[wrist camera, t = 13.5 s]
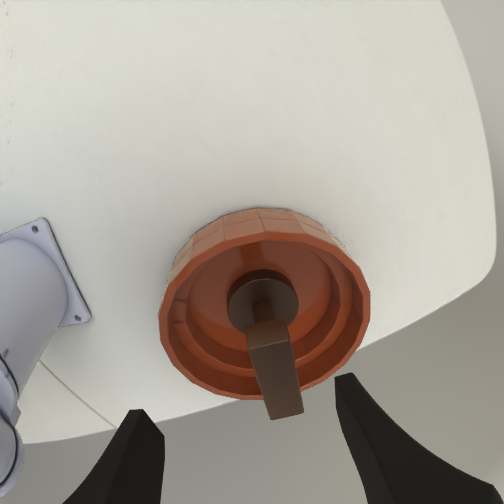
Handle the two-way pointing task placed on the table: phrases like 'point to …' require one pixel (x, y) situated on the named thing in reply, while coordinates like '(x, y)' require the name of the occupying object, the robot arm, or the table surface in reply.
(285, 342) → the brown lever knob
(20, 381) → the robot arm
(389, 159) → the table surface
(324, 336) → the bowl
